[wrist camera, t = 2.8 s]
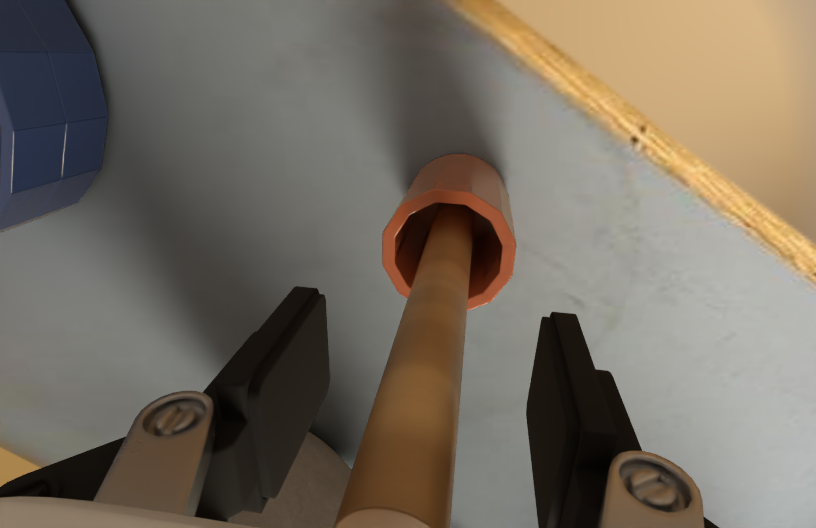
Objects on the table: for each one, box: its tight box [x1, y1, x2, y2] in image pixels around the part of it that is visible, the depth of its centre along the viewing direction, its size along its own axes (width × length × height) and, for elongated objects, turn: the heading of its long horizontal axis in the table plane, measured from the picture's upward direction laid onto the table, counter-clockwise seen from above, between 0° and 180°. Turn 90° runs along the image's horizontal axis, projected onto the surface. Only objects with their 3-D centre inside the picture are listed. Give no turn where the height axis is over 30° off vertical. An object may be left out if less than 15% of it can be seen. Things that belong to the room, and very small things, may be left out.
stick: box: [333, 203, 475, 528], centre depth 15 cm, size 2×2×18 cm
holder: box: [382, 154, 516, 311], centre depth 21 cm, size 5×5×7 cm
